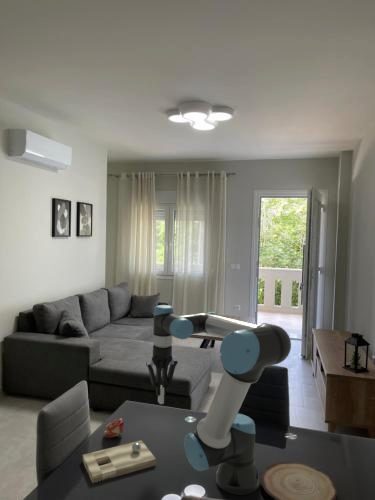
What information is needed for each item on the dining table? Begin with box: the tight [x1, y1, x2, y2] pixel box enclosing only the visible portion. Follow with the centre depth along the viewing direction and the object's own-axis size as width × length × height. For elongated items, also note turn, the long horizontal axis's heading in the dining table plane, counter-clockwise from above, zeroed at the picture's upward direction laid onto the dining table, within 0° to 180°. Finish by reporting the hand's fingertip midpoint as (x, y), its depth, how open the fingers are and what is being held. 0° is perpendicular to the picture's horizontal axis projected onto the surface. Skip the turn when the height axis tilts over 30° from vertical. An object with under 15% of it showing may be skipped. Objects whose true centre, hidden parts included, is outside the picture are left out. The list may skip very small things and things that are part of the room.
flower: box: [103, 417, 125, 439], centre depth 169 cm, size 10×9×8 cm
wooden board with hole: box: [82, 439, 157, 484], centre depth 150 cm, size 15×24×2 cm, turn 118°
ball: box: [132, 443, 141, 453], centre depth 153 cm, size 4×4×4 cm
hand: (160, 402), depth 157 cm, fingers closed
